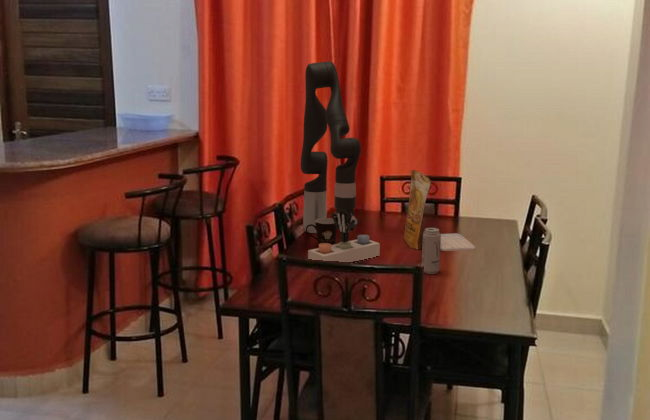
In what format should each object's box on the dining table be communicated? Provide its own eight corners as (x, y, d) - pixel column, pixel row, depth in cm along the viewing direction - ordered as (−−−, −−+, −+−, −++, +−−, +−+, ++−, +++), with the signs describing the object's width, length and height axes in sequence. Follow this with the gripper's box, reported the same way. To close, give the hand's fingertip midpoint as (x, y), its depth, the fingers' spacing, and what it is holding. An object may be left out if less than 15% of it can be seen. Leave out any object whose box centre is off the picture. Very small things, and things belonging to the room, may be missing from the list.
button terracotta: (316, 252, 239) (316, 244, 238) (325, 250, 241) (325, 242, 241) (323, 255, 235) (323, 247, 235) (333, 253, 238) (333, 245, 237)
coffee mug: (340, 244, 264) (340, 219, 262) (333, 250, 257) (333, 224, 254) (312, 241, 268) (312, 216, 266) (304, 247, 260) (304, 222, 258)
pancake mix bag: (416, 236, 275) (419, 168, 268) (429, 250, 256) (432, 177, 250) (400, 237, 274) (402, 169, 267) (412, 251, 256) (414, 178, 249)
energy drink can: (435, 275, 229) (436, 232, 225) (418, 272, 232) (420, 230, 228) (442, 270, 234) (443, 228, 230) (425, 267, 237) (427, 226, 233)
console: (308, 263, 240) (308, 250, 239) (363, 250, 256) (363, 237, 255) (323, 270, 234) (323, 256, 232) (379, 256, 249) (379, 243, 248)
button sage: (335, 250, 244) (336, 242, 244) (345, 248, 247) (345, 240, 246) (343, 253, 241) (343, 245, 240) (353, 251, 244) (353, 243, 243)
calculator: (442, 252, 256) (442, 247, 256) (427, 238, 275) (427, 233, 275) (476, 251, 258) (476, 246, 257) (459, 236, 277) (459, 232, 277)
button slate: (354, 243, 250) (355, 235, 249) (363, 241, 252) (364, 233, 252) (362, 246, 246) (362, 238, 246) (371, 244, 249) (371, 236, 248)
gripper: (325, 192, 242) (325, 239, 246) (349, 199, 232) (348, 247, 236) (341, 190, 246) (340, 235, 251) (365, 196, 236) (364, 244, 241)
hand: (344, 241), depth 243 cm, fingers closed
